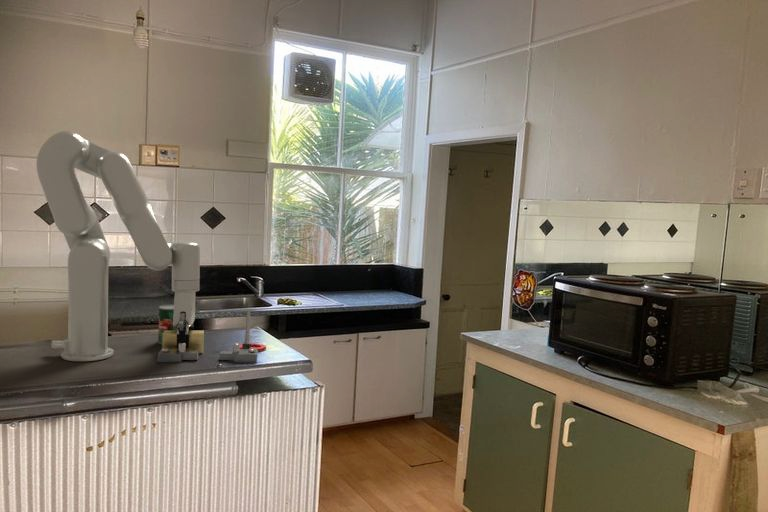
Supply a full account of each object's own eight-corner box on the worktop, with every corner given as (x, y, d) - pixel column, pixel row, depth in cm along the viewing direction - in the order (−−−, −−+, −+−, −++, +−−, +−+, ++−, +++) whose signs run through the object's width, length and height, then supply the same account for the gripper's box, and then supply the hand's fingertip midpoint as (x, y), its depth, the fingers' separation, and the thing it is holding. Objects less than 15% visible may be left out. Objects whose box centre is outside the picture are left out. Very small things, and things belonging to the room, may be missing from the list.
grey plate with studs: (157, 362, 155) (157, 345, 155) (161, 356, 161) (162, 340, 161) (256, 362, 160) (257, 346, 160) (257, 356, 166) (257, 341, 166)
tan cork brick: (162, 354, 164) (162, 333, 163) (163, 351, 167) (164, 330, 167) (202, 354, 167) (203, 333, 166) (203, 350, 170) (203, 330, 170)
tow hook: (243, 345, 180) (231, 351, 171) (246, 304, 179) (234, 307, 170) (269, 348, 179) (258, 354, 169) (272, 306, 178) (261, 310, 169)
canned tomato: (152, 343, 175) (153, 307, 174) (167, 338, 182) (168, 303, 182) (176, 346, 173) (177, 309, 172) (190, 340, 181) (191, 305, 180)
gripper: (176, 281, 173) (176, 337, 175) (166, 289, 156) (166, 352, 158) (202, 281, 175) (202, 337, 176) (195, 290, 158) (195, 351, 159)
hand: (185, 344), depth 167 cm, fingers open, 9 cm apart
